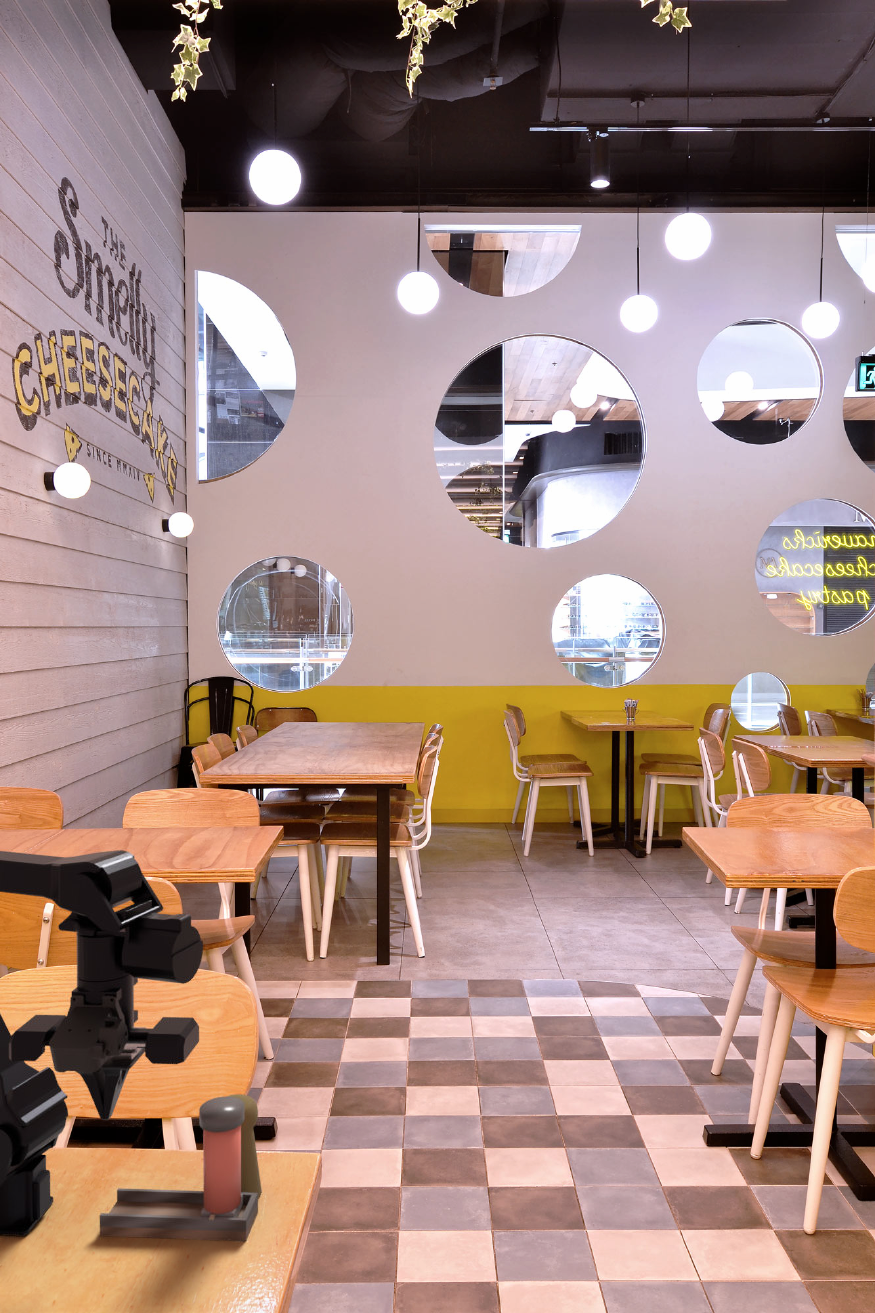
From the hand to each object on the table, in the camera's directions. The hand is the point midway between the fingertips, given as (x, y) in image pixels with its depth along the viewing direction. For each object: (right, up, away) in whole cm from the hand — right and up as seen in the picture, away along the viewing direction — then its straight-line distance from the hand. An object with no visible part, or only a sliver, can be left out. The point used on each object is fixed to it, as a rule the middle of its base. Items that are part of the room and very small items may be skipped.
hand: (106, 1118), depth 99 cm
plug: (+12, -12, +2) cm, 17 cm away
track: (+7, -13, +3) cm, 15 cm away
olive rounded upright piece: (+12, -13, +8) cm, 20 cm away
